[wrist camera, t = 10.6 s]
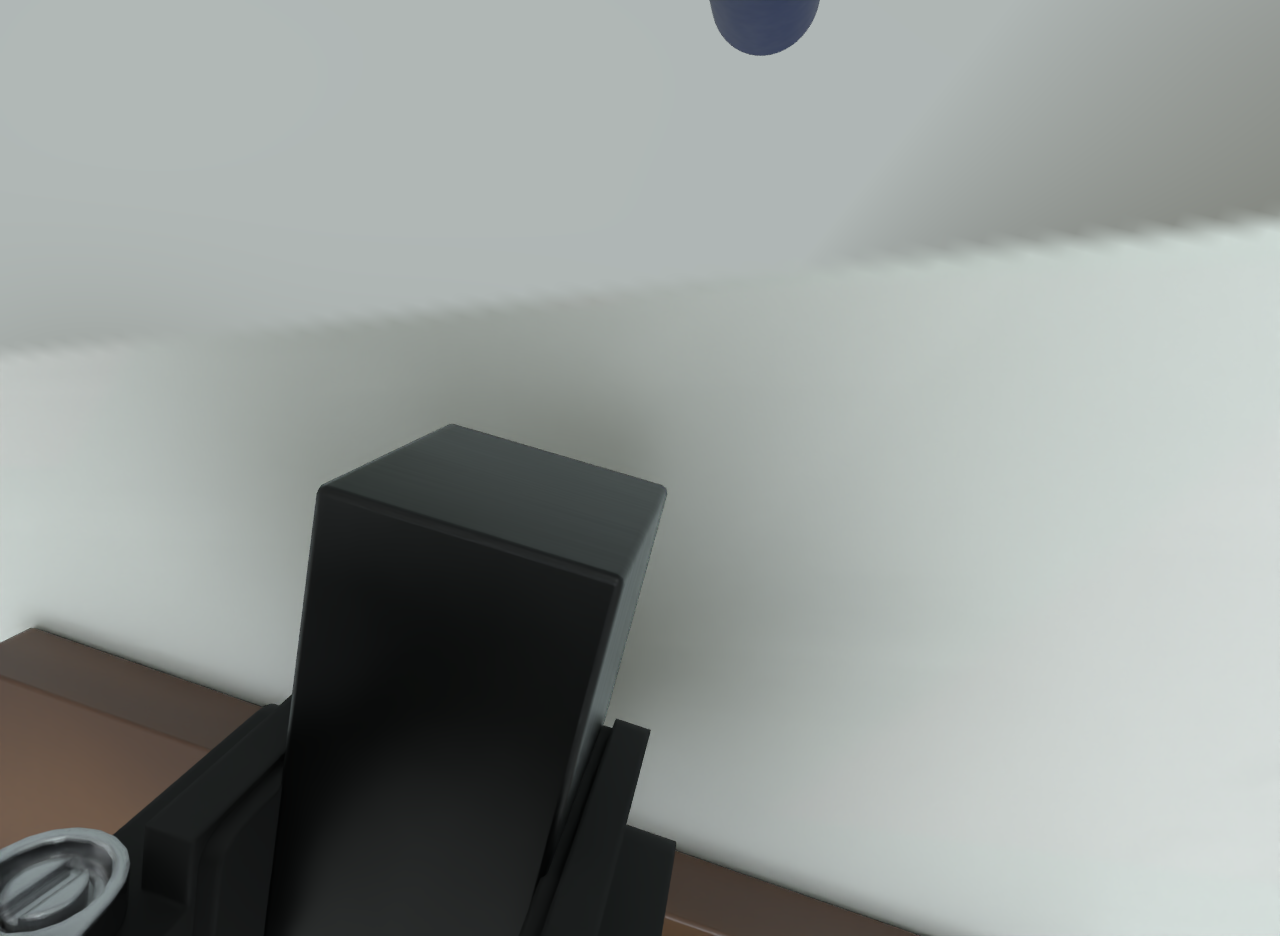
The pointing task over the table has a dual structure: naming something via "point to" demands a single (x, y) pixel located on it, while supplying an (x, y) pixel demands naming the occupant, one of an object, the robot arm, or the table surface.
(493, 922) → the knife
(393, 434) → the table surface
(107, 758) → the board
